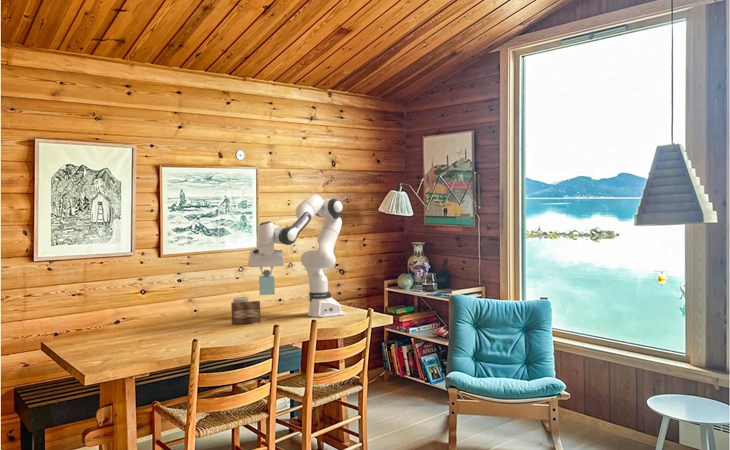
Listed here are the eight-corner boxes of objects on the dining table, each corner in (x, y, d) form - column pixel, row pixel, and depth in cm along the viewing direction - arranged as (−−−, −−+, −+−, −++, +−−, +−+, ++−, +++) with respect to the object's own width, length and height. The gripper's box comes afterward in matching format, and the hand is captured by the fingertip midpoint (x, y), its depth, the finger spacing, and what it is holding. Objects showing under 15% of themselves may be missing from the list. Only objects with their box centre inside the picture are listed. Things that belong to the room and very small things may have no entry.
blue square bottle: (273, 292, 339) (272, 269, 338) (274, 294, 330) (274, 270, 330) (259, 293, 337) (258, 269, 336) (260, 295, 328) (259, 271, 328)
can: (250, 316, 357) (250, 296, 356) (246, 318, 348) (245, 298, 347) (236, 316, 358) (235, 296, 357) (231, 319, 348) (230, 298, 348)
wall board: (260, 321, 339) (259, 300, 338) (261, 323, 333) (260, 302, 333) (231, 323, 335) (231, 302, 334) (232, 325, 329) (231, 304, 328)
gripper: (283, 249, 337) (284, 273, 337) (247, 250, 331) (248, 274, 332) (285, 250, 330) (285, 274, 331) (248, 251, 325) (248, 275, 326)
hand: (266, 274), depth 331 cm, fingers closed on blue square bottle, 2 cm apart
